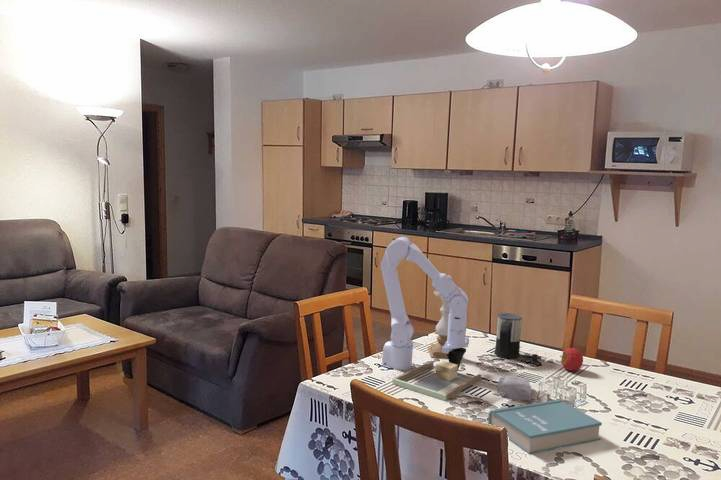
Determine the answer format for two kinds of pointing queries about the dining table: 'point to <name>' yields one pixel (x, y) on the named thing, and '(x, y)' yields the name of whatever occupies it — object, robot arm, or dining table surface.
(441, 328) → the candle holder
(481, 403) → the dining table surface
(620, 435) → the dining table surface
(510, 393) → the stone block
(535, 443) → the book
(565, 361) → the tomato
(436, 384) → the box
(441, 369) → the maple block
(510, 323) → the milk frother
